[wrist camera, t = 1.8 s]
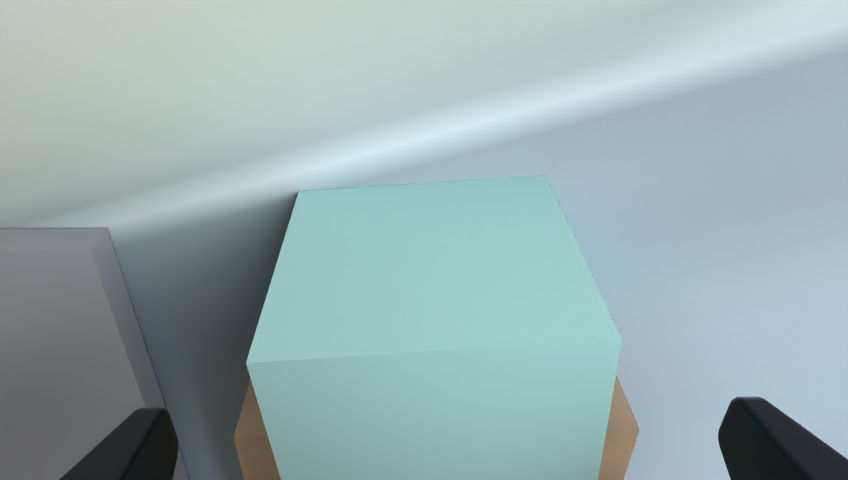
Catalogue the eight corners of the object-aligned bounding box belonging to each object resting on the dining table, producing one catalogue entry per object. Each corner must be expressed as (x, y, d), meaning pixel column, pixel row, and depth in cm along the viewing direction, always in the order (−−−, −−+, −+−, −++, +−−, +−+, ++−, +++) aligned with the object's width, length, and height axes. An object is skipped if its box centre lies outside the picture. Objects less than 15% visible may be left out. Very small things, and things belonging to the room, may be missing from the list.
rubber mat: (200, 513, 18) (192, 539, 17) (-20, 519, 17) (-37, 545, 17) (107, 227, 12) (89, 249, 11) (-216, 230, 12) (-253, 252, 11)
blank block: (526, 454, 17) (568, 650, 13) (352, 465, 17) (336, 664, 13) (544, 171, 12) (622, 339, 8) (300, 187, 12) (245, 363, 8)
